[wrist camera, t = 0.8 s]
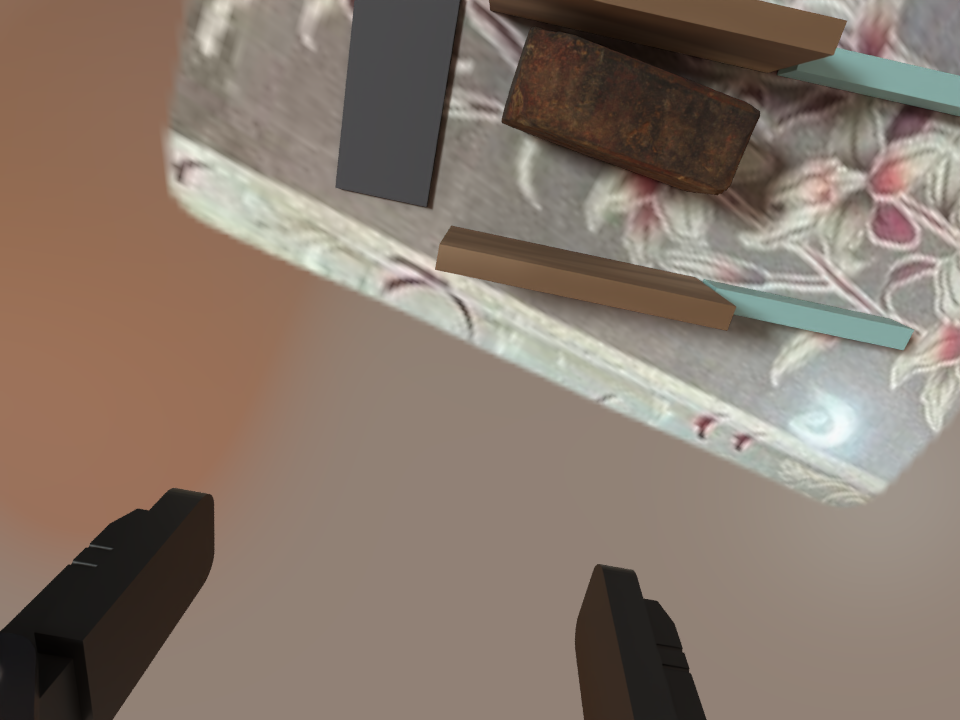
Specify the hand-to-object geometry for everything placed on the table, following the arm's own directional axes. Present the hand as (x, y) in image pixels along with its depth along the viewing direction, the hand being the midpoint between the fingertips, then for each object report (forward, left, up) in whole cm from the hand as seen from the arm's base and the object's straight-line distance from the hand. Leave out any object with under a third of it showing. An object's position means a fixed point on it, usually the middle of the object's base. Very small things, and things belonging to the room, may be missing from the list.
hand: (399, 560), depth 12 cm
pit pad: (-9, -6, -22) cm, 25 cm away
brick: (-9, +3, -23) cm, 25 cm away
